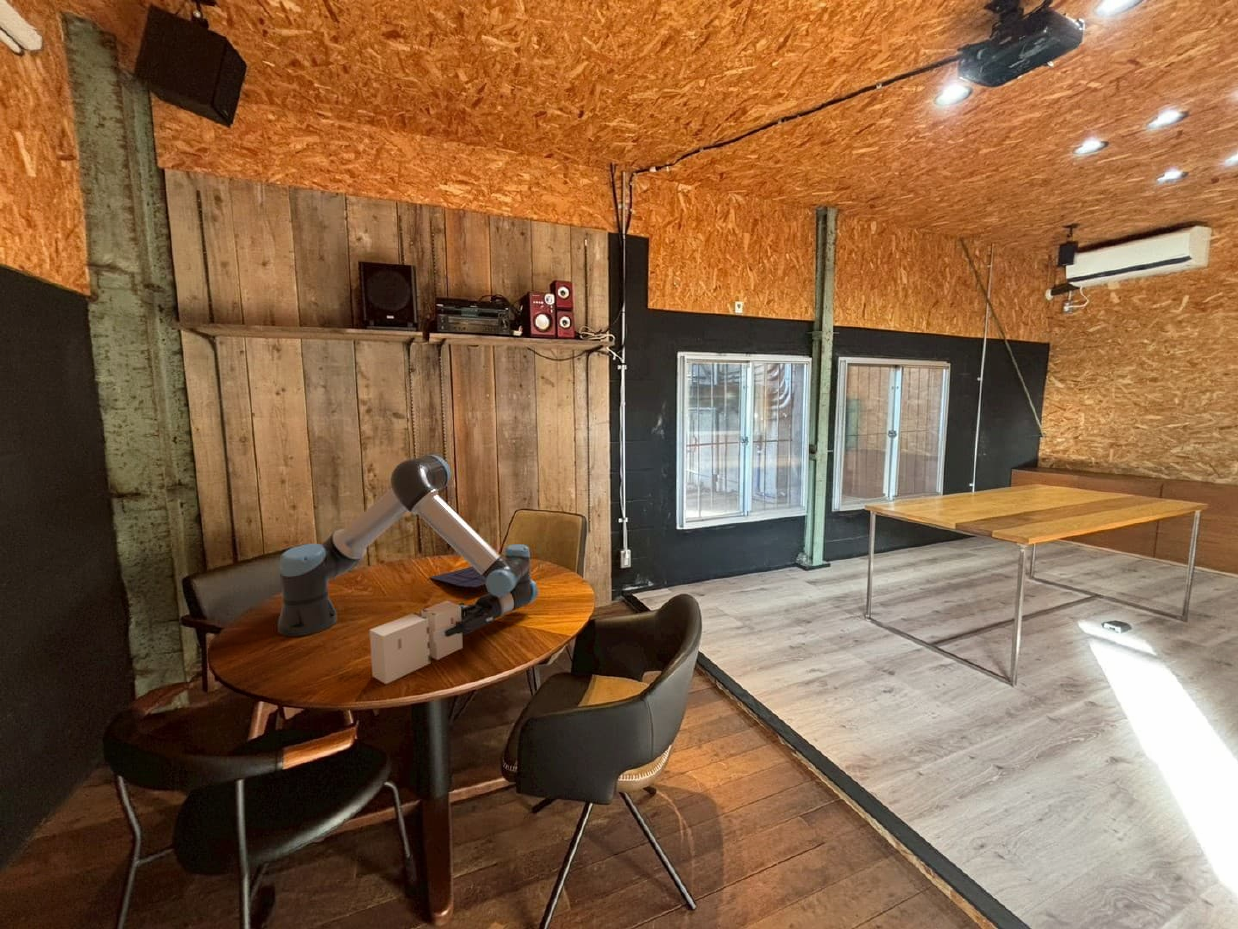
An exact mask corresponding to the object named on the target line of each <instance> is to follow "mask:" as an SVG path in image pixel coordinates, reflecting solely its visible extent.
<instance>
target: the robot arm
mask: <svg viewBox="0 0 1238 929" xmlns="http://www.w3.org/2000/svg"><path fill="white" fill-rule="evenodd" d="M451 475H452V473H451V468H450V466H449V465H448V463H447V461H445V459H443V458H442V457H440V456H438V455H434V454H426V455H423V456H422V455H421V457H416V458H412V459H407V460H404V461H402V462H400V463H398V465H396V466H395V467H394V469H393V470H392V472H391V475H390V487H391V488H389V489H388V490H387V491H386V492H384V493H383V494H382V496H380V498H378V499H377V500H376V501H375V502H374V503H372V505H371V506H370V507H368V508H367V509H366V510H365V511H364V512H362V514H360V515H359V516H358V517H357V518H356V519H355V520H354V521H353V522H352V523H351V524H350V525H348V526H347V527H346V528H340V529H337V530H336V531H334V533H332V534H331V535H330V536H329V537H328V538H326V540H324V541H323V542H321V543H305V544H302V545H299V546H298V545H297V546H294V547H291V548H289V549H287V550H285V551H284V552H283V553H282V554H281V555H280V556H279V566H278V570H279V575H280V576H279V578H280V587H281V596H282V607H281V610H280V614H279V618H278V620H277V631H278V632H277V633H279V635H281V636H285V637H301V636H308V635H312V634H316V633H320V632H322V631H324V630H325V631H326V630H328V629H329V628H331V627H332V626H334V625H336V623H337V621H338V618H337V617H338V614H337V611H336V608H335V607H334V605H333V603H332V600H331V599H330V595H329V585H328V583H329V582H331V581H333V580H334V579H337V578H338V577H339V576H341V575H344V574H347V573H348V572H351V571H352V570H354V568H356V567H357V566H358V565H359V564H360V562H361V561H362V559H363V558H364V556H365V555H366V553H367V548H368V547H369V546H370V545H371V544H372V543H373V542H374V541H376V540H377V539H378V538H379V537H380V536H381V535H382V534H383V533H384V532H386V531H387V530H388V529H389V528H390V527H391V526H392V525H394V524H395V523H396V522H397V521H398V520H399V519H400V518H401V517H402V516H404V515H405V514H406V513H407V512H408V511H409V512H410V513H411V514H412V515H414V514H415V515H418V516H419V517H420V518H421V520H422V519H423V521H424V522H425V523H426V524H427V525H428V526H430V527H431V528H432V529H433V530H434V531H435V533H437V534H438V535H439V536H440V537H441V538H442V539H443V540H444V541H445V542H446V543H447V544H448V545H449V546H451V548H453V549H454V550H455V552H456V553H458V555H459V556H461V557H462V558H463V559H464V560H465V561H466V562H467V564H469V565H470V567H473V568H474V569H476V570H477V571H478V572H479V573H480V574H481V575H482V576H483V577H484V579H486V584H485V587H486V589H487V592H488V593H487V594H484V595H482V596H480V597H478V599H477V600H476V602H475V603H474V604H473V603H472V604H469V605H466V604H465V603H464V602H461V603H459V604H458V605H460V606H461V621H460V622H458V621H456V626H455V624H454V623H453V624H451V625H448V626H446V627H444V628H441V629H439V630H436V631H434V632H432V642H433V643H436V642H438V641H440V640H442V639H445V638H447V637H449V636H451V635H454V634H456V633H457V634H460V633H462V636H463V635H464V636H465V635H468V634H470V633H473V632H475V631H476V630H478V629H480V628H482V627H484V626H486V625H490V624H493V623H494V620H495V619H498V618H499V617H503V616H504V615H506V614H508V613H511V612H513V611H516V610H517V609H518V610H519V609H520V608H523V607H526V606H528V605H529V604H531V603H533V602H534V601H535V600H537V598H538V595H539V588H538V587H537V583H536V582H535V581H534V580H533V579H531V561H530V560H531V555H530V554H531V553H530V547H529V546H527V545H526V544H522V543H521V544H520V543H518V544H515V543H514V544H510V545H508V546H506V547H505V548H504V555H503V556H504V557H503V556H501V555H500V553H499V552H497V550H495V549H494V548H493V547H492V546H491V545H490V544H489V543H488V542H487V541H486V540H485V539H484V538H483V537H482V536H481V535H480V534H479V533H478V532H477V531H476V530H474V528H472V526H471V525H469V523H467V522H466V521H465V519H463V517H461V516H460V514H458V513H457V512H456V511H455V510H454V509H453V508H452V506H450V505H449V504H448V503H447V502H446V501H445V500H444V499H443V498H442V496H440V495H439V492H441V491H443V490H444V489H446V487H447V486H448V485H449V483H450V482H451Z"/></svg>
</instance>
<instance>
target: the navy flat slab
mask: <svg viewBox="0 0 1238 929" xmlns="http://www.w3.org/2000/svg"><path fill="white" fill-rule="evenodd" d="M429 578H430V579H432V580H436V581H437V580H438V581H441V582H445V583H447V584H448V583H449V584H453V585H455V586H461V587H465V588H467V587H471V588H476V587H480V586H483V585H486V579H484V577H483V576H482V575H481V574H480V573H479V572H478V571H477V570H476V569H474V568H473V567H472V566H469V567H465V568H461V569H458V570H454V571H450V572H445V573H442V574H437V575H435V576H429Z"/></svg>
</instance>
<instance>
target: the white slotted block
mask: <svg viewBox="0 0 1238 929" xmlns="http://www.w3.org/2000/svg"><path fill="white" fill-rule="evenodd" d="M369 642H370V658H371V671H372V672H371V673H372V677H373V678H375V679H377V680H378V681H380V682H381V683H384V684H385V685H387V684H391V683H392V682H394V681H396V680H397V679H400V678H402V677H404V676H406V675H408V674H410V673H412V672H415V671H417V670H419V669H421V668H423V667H425V666H428V665H429V664H431V657H430V643H429V626H428V618H427V617H424V616H422V615H421V614H419V613H417V612H413V613H410V614H407V615H404V616H403V617H400V618H397V619H394V620H392V621H388V622H386V623H384V624H381V625H379V626H376V627H373V628H371V629H369Z"/></svg>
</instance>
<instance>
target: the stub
mask: <svg viewBox="0 0 1238 929" xmlns="http://www.w3.org/2000/svg"><path fill="white" fill-rule="evenodd" d="M420 611H421V614H420V615H422V616H424V617H427V618H428V626H429V643H430V658H432V659H434V660H440V659H442V658H444V657H446V656H448V655H450V654H453V653H454V652H457V651H458V650H459V651H460V650H462V649H463V648H464V647H463V633H460V634H457V633H456V634H454V635H451V636H449V637H447V638H445V639H442V640H440V641H438V642H436V643H433V642H432V632H434V631H436V630H439V629H441V628H444V627H446V626H448V625H451V624H453V623H454V624H455V626H456V621H458V622H460V621H462V620H461V606H460V605H459V604H457V603H454V602H452V601H449V600H445V601H442V602H440V603H437V604H434V605H432V606H429V607H427V608H423V609H421V610H420Z"/></svg>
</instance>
